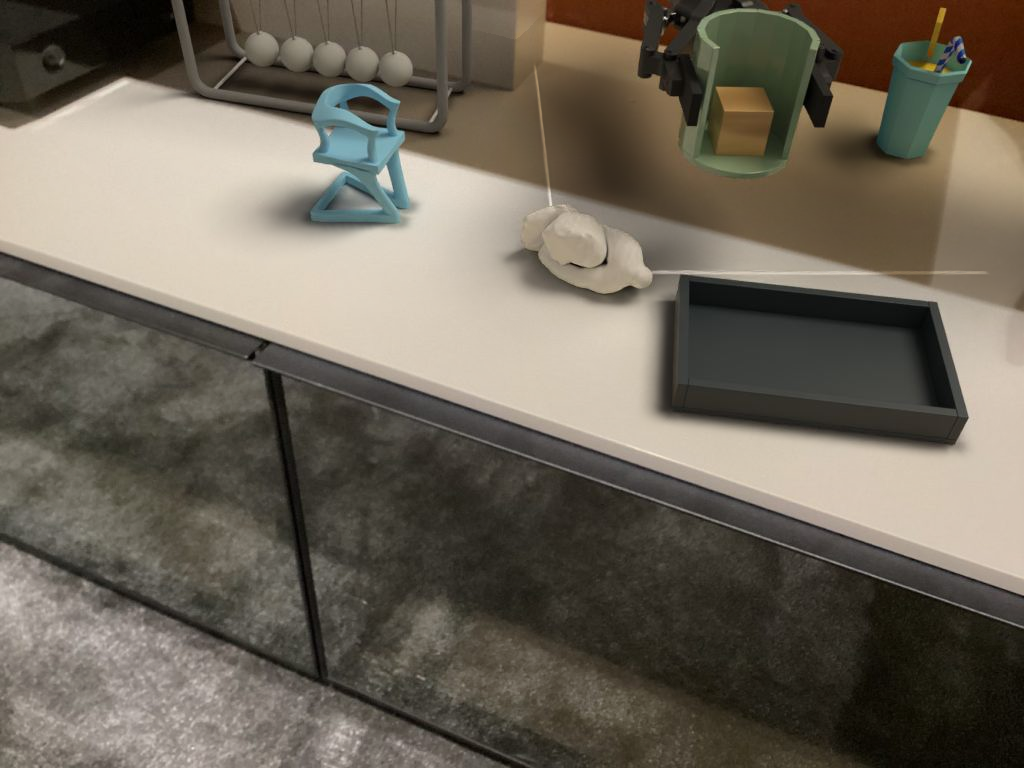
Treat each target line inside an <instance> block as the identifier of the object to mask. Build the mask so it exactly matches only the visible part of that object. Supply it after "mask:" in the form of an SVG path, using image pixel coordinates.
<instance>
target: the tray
mask: <svg viewBox="0 0 1024 768" xmlns="http://www.w3.org/2000/svg"><path fill="white" fill-rule="evenodd" d="M673 319H674V323H673V325H674V326H673V353H672V354H673V355H672V356H673V357H672V359H673V360H672V365H673V366H672V389H671V390H672V393H671V411H673V412H680V413H688V414H697V415H706V416H713V417H722V418H732V419H738V420H748V421H755V422H764V423H772V424H780V425H788V426H798V427H805V428H812V429H813V428H814V429H823V430H831V431H837V432H838V431H839V432H847V433H856V434H864V435H872V436H881V437H889V438H897V439H906V440H915V441H923V442H931V443H939V444H947V445H956V443H957V441H958V439H959V437H960V435H961V434H962V432H963V430H964V428H965V426H966V425H967V422H968V420H969V419H970V416H969V413H968V409H967V405H966V402H965V398H964V394H963V391H962V388H961V387H962V386H961V384H960V380H959V377H958V373H957V369H956V366H955V365H956V364H955V361H954V358H953V354H952V351H951V347H950V344H949V340H948V335H947V333H946V329H945V325H944V322H943V318H942V315H941V311H940V307H939V304H938V302H937V301H933V300H932V301H931V300H923V299H922V300H921V299H913V298H903V297H896V296H885V295H875V294H868V293H859V292H858V293H857V292H849V291H838V290H829V289H822V288H821V289H820V288H811V287H803V286H793V285H786V284H785V285H783V284H774V283H765V282H757V281H749V280H748V281H747V280H737V279H728V278H719V277H710V276H700V275H691V274H682V273H680V274H679V278H678V284H677V288H676V295H675V300H674V318H673Z"/></svg>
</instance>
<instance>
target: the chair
mask: <svg viewBox="0 0 1024 768" xmlns="http://www.w3.org/2000/svg"><path fill="white" fill-rule="evenodd" d="M359 97H368V98H371V99H373V100H375V101H377V102H379V103H380V104H381V105H383V106H385V107H386V108H387V109H389V112H388V115H387V116H388V119H387V126H386V127H377V126H374V125H372V124H370V123H366V122H365V121H363V120H362V119H360V118H359V117H357V116H356V115H354V114H352V113H351V112H349V110H350V109H349V106H348V102H347V101H349V100H351V99H354V98H359ZM315 104H316V105H315V108H314V110H313V113H312V114H311V121H312V123H313V125H314V128H315V130H316V132H317V133H318V136H319V140H320V141H319V145H318V146H317V147H316V148H315V150H314V151H313V152H312V161H313V162H312V163H317V164H322V165H329V166H333V167H335V168H338V169H340V170H343V171H341V172H340V173H339V174H338V175H337V177H336V178H335V180H334V181H333V182H332V184H330V185H329V187H328V188H327V189H326V191H325V192H324V193H323V195H322V196H321V197H320V199H319V200H318V201H317V202H316V204H315V205H314V206H313V207H312V208H311V209H310V212H309V213H310V219H311V221H313V222H321V223H382V224H384V223H385V224H399V223H401V221H402V218H401V213H400V211H399V209H402V210H409V209H410V208H411V201H410V197H409V192H408V189H407V188H408V187H407V184H406V180H405V177H404V173H403V169H402V163H401V158H400V147H401V146H402V145H403V143H405V141H406V132H405V131H404V130H398V128H396V125H395V119H396V117H397V113H398V110H399V107H400V104H401V100H399V99H396V98H393V97H392V96H391V95H389V94H387V93H386V92H385V91H383V90H382V89H381V88H379V87H377V86H375V85H373V84H370V83H344V84H337V85H333V86H330V87H328V88H326V89H324V90H323V91H322V93H321V94H320V96H319V98H318V99H317V102H316V103H315ZM337 105H339V107H337ZM333 126H335V127H334V128H333V129H332V131H331V132H330V133H329V134H328V132H327V130H326V129H325V128H327V127H333ZM385 167H386V168H387V171H388V175H389V179H390V184H391V187H392V190H390V189H388V188H387V187H386V188H385V187H384V186H381V184H380V182H379V180H378V178H377V175H378V176H379V175H380V174H381V173H382V171H383V170H384V168H385ZM345 184H348V185H351V186H352V187H355V188H357V189H359V190H361V191H363V192H365V193H367V194H369V195H370V196H372V197H373V198H374V199H375V200H376V202H377V203H378V204H379V206H380V207H381V208H366V209H365V208H363V209H361V208H359V209H327V208H328V206H329V204H330V203H331V202H332V200H333V199H334V198H335V197H336V195H337V194H338V193H339V191H340V190H341V189H342V188H343V186H344V185H345ZM398 208H399V209H398Z"/></svg>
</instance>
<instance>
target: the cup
mask: <svg viewBox="0 0 1024 768" xmlns="http://www.w3.org/2000/svg"><path fill="white" fill-rule="evenodd" d="M946 12H947V8H946V7H940V8H939V11H938V15H937V18H936V21H935V25H934V29H933V32H932V36H931V38H930V40H918V41H907V42H902V43H900V44H899V45H898V47H897V49H896V51H895V52H894V54H893V56H892V62H891V65H892V66H893V69H892V72H891V78H890V81H889V87H888V91H887V94H886V100H885V104H884V106H883V107H884V108H883V112H882V116H881V121H880V125H879V129H878V132H877V133H878V134H877V138H876V142H875V144H876V145H877V146H878V147H879V148H880V149H881V151H883V152H884V153H885V154H887V155H890V156H894V157H897V158H901V159H905V160H909V159H916V158H922V159H923V157H925V153H926V151H927V150H928V147H929V145H930V144H931V141H932V139H933V137H934V135H935V133H936V131H937V129H938V127H939V125H940V122H941V120H942V118H943V117H944V115H945V113H946V110H947V108H948V106H949V104H950V102H951V100H952V98H953V95H954V94H955V92H956V90H957V88H958V85H959V84H960V83H963V81H964V79H965V77H966V75H967V73H968V72H969V69H970V67H971V66H972V65H971V64H972V63H973V61H972V59H971V58H970V57H968V56H967V54H966V51H965V47H964V41H963V37H961V36H960V35H958V36H954V37H952V38H950V40H949V41H948V43H947V44H944V43H939V42H938V39H939V35H940V32H941V29H942V26H943V23H944V19H945V15H946Z"/></svg>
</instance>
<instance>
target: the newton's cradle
mask: <svg viewBox="0 0 1024 768" xmlns="http://www.w3.org/2000/svg"><path fill="white" fill-rule="evenodd" d="M261 1H262V0H258V7H259V27H258V23H257V19H256V15H255V10H254V6H253V2H252V0H249V3H250V8H251V12H252V16H253V20H254V24H255V28H256V32H253V33H252V34H250V35H249V36H248V37H247V38H246V40H245V43H244V49H243V48H241V46H240V45H239V44H238V42H237V39H236V33H235V28H234V23H233V17H232V11H231V6H230V0H218V5H219V11H220V16H221V22H222V27H223V32H224V38H225V42H226V45H227V48H228V49H229V50H230V52H231V53H232V54H233V55H234V56H235V57H236V58H238V59H240V60H239V61H238V63H237V64H236V65H235V66H233V67H232V68H231V69H230V71H228V72H227V74H226V75H224V77H222V79H221V80H219V82H218V83H216V85H215V86H214V87H210V86H208V85H206V84H205V83H204V82H203V81H202V80H201V79H200V77H199V72H198V67H197V63H196V58H195V53H194V49H193V48H194V47H193V43H192V39H191V34H190V30H189V24H188V21H187V15H186V10H185V6H184V2H183V0H170V2H171V7H172V11H173V15H174V19H175V20H174V21H175V25H176V29H177V33H178V38H179V43H180V47H181V51H182V52H181V53H182V56H183V61H184V65H185V69H186V75H187V78H188V81H189V84H190V85H191V86H192V88H193V89H194V90H195V91H196V92H197V93H198V94H200V96H203V97H205V98H207V99H208V98H209V99H213V100H220V101H224V102H232V103H233V102H234V103H236V104H237V103H238V104H244V105H250V106H257V107H263V108H270V109H275V110H282V111H289V112H296V113H301V114H307V115H312V113H313V110H314V108H315V105H316V103H312V102H311V103H309V102H303V101H297V100H292V99H291V100H290V99H285V98H278V97H272V96H265V95H258V94H253V93H248V92H247V93H246V92H240V91H233V90H228V89H221V87H222V85H224V83H225V82H226V81H227V80H228V79H229V78H231V76H232V75H233V74H234V73H235V72H236V71H237V70H238V69H239V68H240V67H241V66H243V64H244V63H245V62H250V63H252V64H253V65H255V66H256V67H259V68H267V67H270V66H274V67H282V68H286V69H287V70H289V71H291V72H294V73H303V72H306V71H309V72H316V73H319V74H320V75H321V76H323V77H327V78H334V77H338V76H342V77H349V78H352V79H353V80H354V81H356V82H359V83H368V82H371V81H375V82H381V83H385V84H386V85H387V86H389V87H392V88H400V87H403V86H409V87H414V88H421V89H427V90H434V91H436V95H437V96H436V99H437V101H436V102H437V104H436V105H437V107H436V109H435V111H434V112H433V114H432V116H431V117H430V119H429V120H428V121H424V120H418V119H414V118H413V119H412V118H405V117H399V116H396V119H395V125H396V129H401V130H402V129H403V130H409V131H414V132H421V133H430V134H432V133H436V132H439V131H441V130H442V129H443V128H445V126H446V125H447V123H448V119H449V97H450V95H451V94H452V93H459V92H462V91H464V90H466V89H467V88H468V87H469V86H470V84H471V82H472V79H473V0H461V77H460V79H459V80H458V81H449V80H448V79H449V77H448V76H449V75H448V27H447V26H448V25H447V24H448V23H447V22H448V21H447V18H448V17H447V0H434V27H435V31H434V32H435V61H436V62H435V64H436V68H435V69H436V79H435V78H428V77H421V76H414V75H413V70H414V67H413V63H412V60H411V59H410V58H409V57H408V56H407V54H405V53H403V52H401V51H397V44H398V43H397V42H398V41H397V38H398V37H397V36H398V33H397V31H398V28H397V27H398V21H397V20H398V0H395V1H394V4H395V5H394V39H393V34H392V26H391V20H390V19H391V18H390V12H389V5H388V0H385V7H386V14H387V22H388V29H389V36H390V43H391V50H392V51H389V52H387V53H385V54H384V55H383V56H382V57H381V58H380V59H379V56H378V55H377V53H376V52H375V51H374V50H373V49H372V48H370V47H368V46H364V18H363V17H364V13H363V11H364V10H363V9H364V7H363V0H360V27H361V28H360V30H361V31H360V33H361V35H359V31H358V24H357V19H356V12H355V6H354V1H353V0H350V3H351V10H352V15H353V20H354V27H355V32H356V38H357V44H358V46H356V47H354V48H352V49H350V51H349V52H348V53H346V51H345V50H344V48H343V47H342V46H341V45H339V43H337V42H333V41H331V32H330V1H329V0H326V5H327V7H326V8H327V9H326V10H327V35H328V36H327V35H326V30H325V29H326V28H325V25H324V20H323V14H322V10H321V6H320V5H321V4H320V1H319V0H316V2H317V8H318V12H319V17H320V22H321V26H322V31H323V36H324V41H323V42H321V43H320V44H318V45H317V46H316V47H315V48H313V45H312V44H311V43H310V42H309V41H308V40H307V39H305V38H303V37H300V36H298V27H297V7H296V0H293V8H294V9H293V10H294V12H293V13H294V29H295V30H293V27H292V26H293V25H292V23H291V17H290V14H289V9H288V4H287V1H286V0H283V2H284V6H285V11H286V16H287V19H288V24H289V28H290V32H291V36H292V37H289V38H287V39H286V40H285V41H284V42H283V43H282V44H281V47H279V43H278V41H277V40H276V38H275V37H274V36H273V35H272V34H270V33H268V32H265V31H263V27H262V26H263V25H262V23H263V22H262V2H261ZM294 31H295V32H294ZM294 33H295V35H294ZM359 36H361V42H360V37H359ZM393 40H394V41H393ZM349 112H351V113H352V114H354V115H356V116H357V117H359V118H360V119H362V120H363V121H365V122H366V123H368V124H370V125H376V126H382V127H387V119H388V116H389V115H387V114H380V113H373V112H367V111H360V110H355V109H349Z"/></svg>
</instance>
